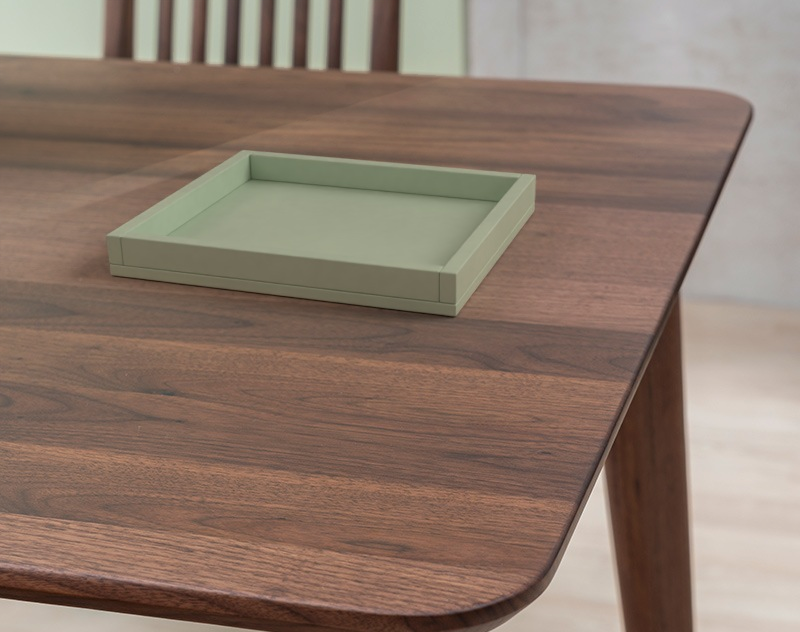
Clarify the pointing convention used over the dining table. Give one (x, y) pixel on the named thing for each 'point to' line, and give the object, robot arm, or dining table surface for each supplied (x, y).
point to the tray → (330, 230)
